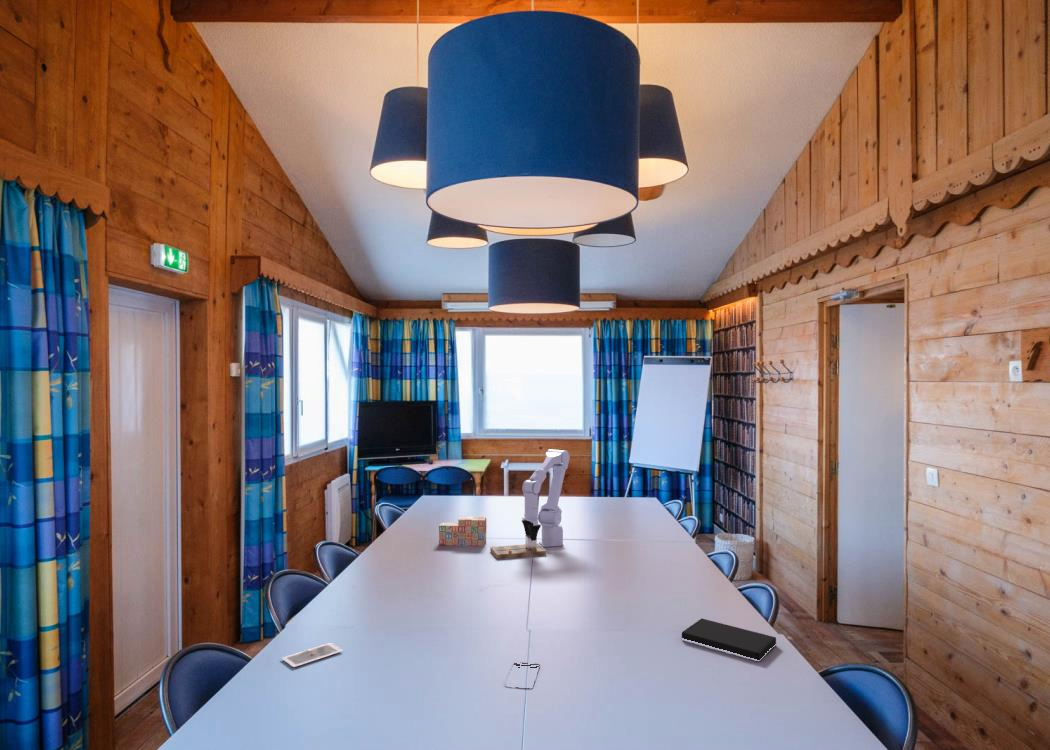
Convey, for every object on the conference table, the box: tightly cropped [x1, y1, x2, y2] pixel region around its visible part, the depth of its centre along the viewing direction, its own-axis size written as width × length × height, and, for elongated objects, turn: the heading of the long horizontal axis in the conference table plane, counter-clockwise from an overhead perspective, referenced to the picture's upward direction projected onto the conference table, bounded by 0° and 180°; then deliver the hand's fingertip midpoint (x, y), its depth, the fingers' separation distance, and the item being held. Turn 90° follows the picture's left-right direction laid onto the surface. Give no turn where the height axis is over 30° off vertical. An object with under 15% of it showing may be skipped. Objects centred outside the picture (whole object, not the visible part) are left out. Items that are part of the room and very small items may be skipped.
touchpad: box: [280, 642, 345, 668], centre depth 186 cm, size 8×15×2 cm, turn 134°
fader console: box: [489, 543, 547, 560], centre depth 290 cm, size 22×12×3 cm, turn 106°
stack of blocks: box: [438, 516, 487, 547], centre depth 305 cm, size 21×6×12 cm, turn 85°
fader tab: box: [524, 534, 538, 549], centre depth 291 cm, size 4×4×5 cm
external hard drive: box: [681, 618, 777, 660], centre depth 195 cm, size 14×23×3 cm, turn 51°
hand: (530, 538), depth 291 cm, fingers open, 7 cm apart
